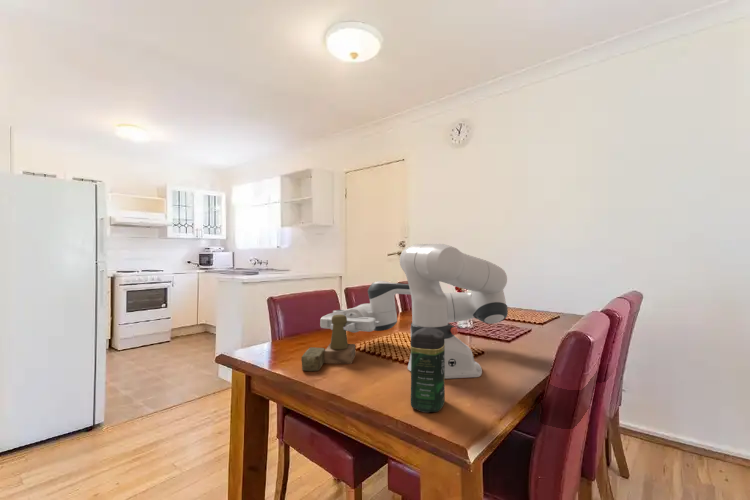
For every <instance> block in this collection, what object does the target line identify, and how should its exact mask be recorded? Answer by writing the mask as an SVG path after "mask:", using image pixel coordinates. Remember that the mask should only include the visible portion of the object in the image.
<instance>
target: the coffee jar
mask: <svg viewBox="0 0 750 500" xmlns="http://www.w3.org/2000/svg"><path fill="white" fill-rule="evenodd" d="M444 336H445V335H444V333H443V332H442V331H441V330H440V329H439V328H433V327H423V328H422V329H419V330H417V331H416V332H414V333H413V334H412V336H411V335H410V355H411V371H410V406H411V407H412V409H415V410H417V411H419V412H423V413H430V412H431V413H432V412H439V411H441V410H442V408H443V407H444V405H445V402H446V401H445V399H446V398H445V397H446V395H445V393H446V390H445V387H446V386H445V385H446V384H445V380H446V379H445V341H444Z"/></svg>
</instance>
